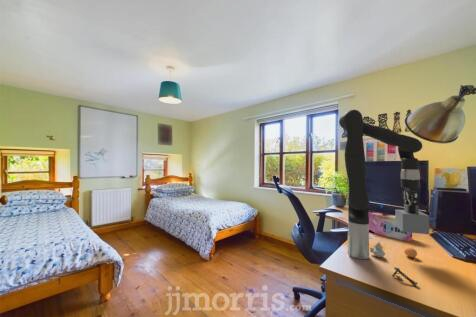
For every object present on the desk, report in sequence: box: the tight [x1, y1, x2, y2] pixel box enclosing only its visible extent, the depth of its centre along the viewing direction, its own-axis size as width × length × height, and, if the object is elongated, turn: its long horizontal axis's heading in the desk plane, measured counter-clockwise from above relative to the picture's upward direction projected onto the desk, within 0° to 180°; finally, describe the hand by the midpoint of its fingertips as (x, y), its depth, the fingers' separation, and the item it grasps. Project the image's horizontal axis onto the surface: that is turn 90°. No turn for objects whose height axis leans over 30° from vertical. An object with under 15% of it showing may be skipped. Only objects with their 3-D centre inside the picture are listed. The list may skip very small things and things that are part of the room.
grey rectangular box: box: [394, 203, 430, 235], centre depth 104 cm, size 10×10×12 cm
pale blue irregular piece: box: [369, 241, 386, 258], centre depth 106 cm, size 5×7×8 cm
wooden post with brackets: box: [392, 266, 418, 287], centre depth 83 cm, size 2×8×4 cm, turn 30°
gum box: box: [369, 211, 413, 243], centre depth 137 cm, size 24×8×14 cm, turn 38°
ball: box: [403, 246, 418, 259], centre depth 105 cm, size 5×5×5 cm
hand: (410, 212), depth 104 cm, fingers closed on grey rectangular box, 4 cm apart
